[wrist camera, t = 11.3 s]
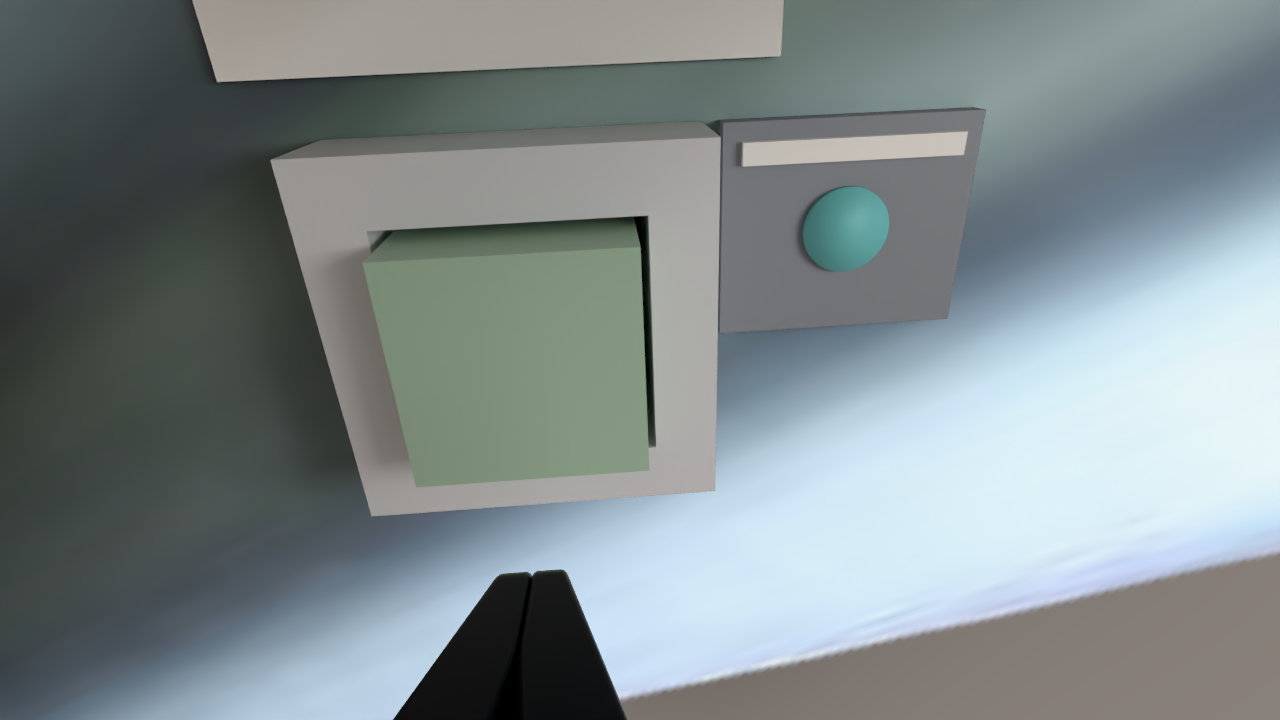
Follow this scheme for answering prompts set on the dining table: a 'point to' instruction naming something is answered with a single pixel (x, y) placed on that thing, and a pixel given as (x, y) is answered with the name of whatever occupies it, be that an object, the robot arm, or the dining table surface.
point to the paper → (475, 34)
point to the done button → (515, 348)
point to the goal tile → (842, 217)
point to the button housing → (517, 193)
